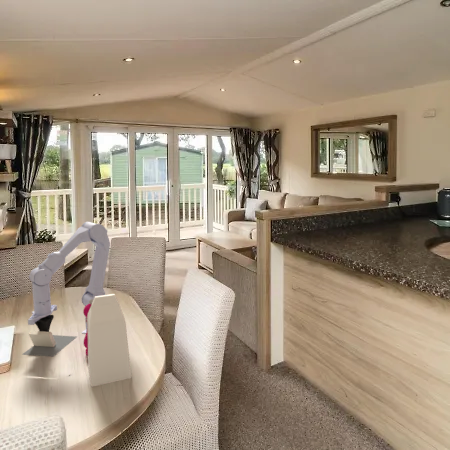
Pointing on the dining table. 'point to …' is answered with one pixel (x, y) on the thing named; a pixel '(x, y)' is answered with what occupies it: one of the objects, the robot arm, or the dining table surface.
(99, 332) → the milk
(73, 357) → the dining table surface
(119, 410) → the dining table surface
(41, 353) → the mat
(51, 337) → the block
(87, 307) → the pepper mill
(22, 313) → the dining table surface
